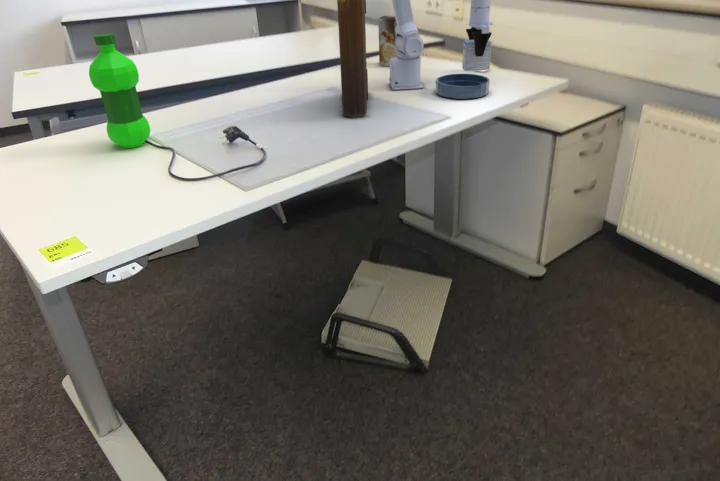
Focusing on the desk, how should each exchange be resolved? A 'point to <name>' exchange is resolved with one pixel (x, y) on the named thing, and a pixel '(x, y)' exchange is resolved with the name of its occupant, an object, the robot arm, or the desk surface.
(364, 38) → the dark brown tall slab
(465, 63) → the medicine box
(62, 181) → the desk surface
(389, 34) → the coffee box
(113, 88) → the plastic bottle
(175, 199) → the desk surface
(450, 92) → the bowl
